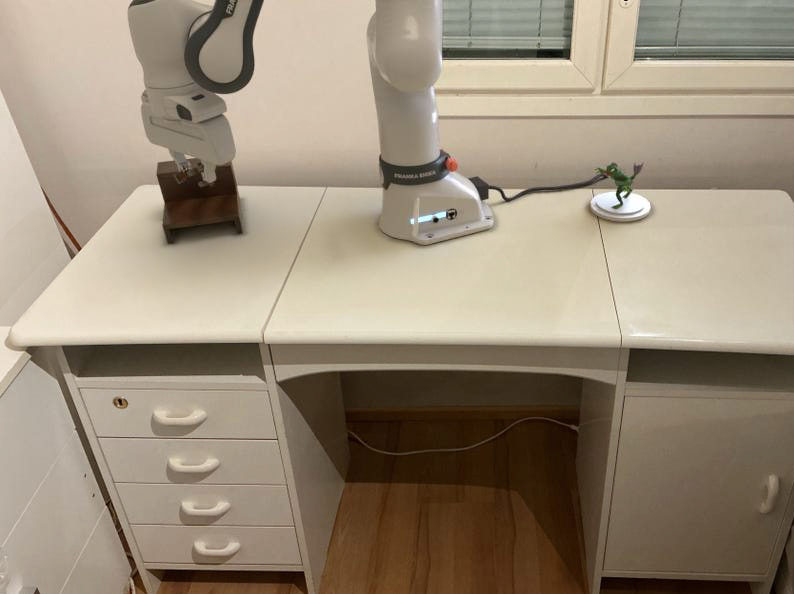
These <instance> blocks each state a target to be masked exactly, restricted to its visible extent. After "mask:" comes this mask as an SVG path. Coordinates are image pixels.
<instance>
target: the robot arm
mask: <svg viewBox="0 0 794 594" xmlns="http://www.w3.org/2000/svg"><path fill="white" fill-rule="evenodd" d="M264 3H265V0H214V4H213V5H209V4H205V3H202V2H199V1H195V0H132V1H131V2H130V3H129V6H128V7H127V22H128V29H129V33H130V39H131V41H132V46H133V50H134V53H135V56H136V59H137V60H138V62H139V64H140V65H141V68H142V72H143V83H144V88H145V89H144V90H143V92H142V93H141V95H140V99H141V103H142V104H141V105H140V113H141V115H140V116H141V119H142V125H143V129H144V133H145V137H146V138H147V139H148V141H149V143H151V144H153V145H155V146H159V147H162V148H165V149H167V150H168V153H169V155H170V156H171V157H172V160H173V161H175V162H176V163H177V166H178V169H179V172H181V173H184V174H185V173H186V172H187V171H189V170H191V169H192V167H191V163H190V162H189V161H187V159H188V158H187V157H186V156H189V157H191V158H198V159H201V162H202V164H203V165H204V171H202V172H201V174H202V177H203V180H204V181H206V182H209V183H211V182H213V181H215V180H216V174H215V168H216V165H223V164H225V163H228V162H230V161H232V162H233V161H234V159H235V157H236V154H237V152H236V151H237V150H236V144H235V141H234V136H233V131H232V127H231V124H230V122H229V120H228V118H227V116H225V113H226V112H227V111H228V107H227V104H226V100H225V99H223V98H222V97H221V96H219V95H231V94H234V93H237V92H240V91H241V90H243V89H244V88H245V87H246V86H247V85H249V83H250V82H251V80H252V78H253V76H254V72H255V53H254V52H255V51H254V35H255V31H256V27H257V23H258V20H259V17H260V14H261V12H262V8H263V5H264ZM443 7H444V5H443V0H375V12H373V14H372V15H371V17H370V19H369V21H368V24H367V28H366V44H367V45H366V46H367V54H368V61H369V69H370V76H371V84H372V90H373V97H374V104H375V105H374V106H375V110H376V117H377V118H376V119H377V128H378V129H377V130H378V139H379V150H380V151H379V152H380V154H379V156H378V171H379V179H380V184H381V187H382V202H381V212H380V218H379V222H378V226H379V229H380V230H381V232H383V233H384V234H385V235H387V236H389V237H391V238H394V239H398V240H404V241H411V242H412V243H415V244H418V245H421V246H427V245H432V244H436V243H439V242H440V243H441V242H445V241H448V240H452V239H457V238H459V237H464V236H468V235H471V234H475V233H479V232H483V231H488V230H490V229H492V227H493V226H494V223H495V222H494V221H495V219H494V215H493V211H492V210H491V208H490V206H489V205H488V204H487V203H486V202H485V201H486V200H489V199H490V198H489V197H490V191H489V190H495V191H497V192H499V193H500V196H501V198H502V200H504V201H505V202H512V201H514V200H517V199H519V198H521V197H522V196H524V195H526V194H529V193H532V192H542V191H545V192H546V191H559V190H567V189H573V188H579V187H582V186H586V185H589V184H592V183H594V182H595V181H596V180H598V179H599V178H601V177H602V178H605V179H609V178H610V176H607V175H606V173H605V174H602V175H601V173H600V172H599V173H597V174H596V175H595V176H594V177H592V178H590V179H589V180H584V181H582V182H577V183H571V184H564V185H556V186H555V185H554V186H538V187H530V188H527V189H523V190H522V191H520V192H519V193H517V194H516V195H514V196H512V197H508V196H506V193H505V192H504V190H503V189H502V188H501V187H499V186H495V185H490V184H489V183H487V182H486V181H484V180H483V179H482V178H481V177H479V175H477V176H473V177H466V176H464V175H462V174H460V173H459V172H457V169H458V168H459V164H458V162H456V159H455V158H453V157H452V156H451V155H450V153H448V152H446V151H445V150H444V149H443V147H441V145H440V144H441V143H440V141H441V140H440V124H439V123H440V122H439V121H440V120H439V109H438V104H437V98H436V93H435V92H436V91H435V86H434V85H435V84H436V83H437V81H438V79H439V78H440V76H441V73H442V69H443V30H444V29H443V27H444V25H443V23H444V17H443V16H444V14H443V11H444V9H443ZM599 175H600V176H599Z"/></svg>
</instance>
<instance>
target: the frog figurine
mask: <svg viewBox="0 0 794 594" xmlns="http://www.w3.org/2000/svg"><path fill="white" fill-rule="evenodd" d="M604 166H605V167H606V169H604V168H601V167H599V166H597V168H595V169H594V170H595V171H596V173H595V174H596V175H598V174H600V173H601V175H602V174H606V175H607V176H609V178H610V179H612V180H613V181H614V184H615V186H616V187H617V188H616V191H608V192H607V191H606V192H603V193H599V194H597V195H595V196H594V197H592V198H591V200H590V206H589V208H590V211H591V212H592V213H593V214H594V215H595V216H597V217H599V218H601V219H603V220H607V221H612V222H618V223H619V222H620V223H621V222H622V223H625V222H627V223H628V222H634V221H639V220H642V219H644V218H646V217H647V216H648V215H649V214H650V211H651V203H650V202H649V200H648V199H647V198H645V197H644V196H642V195H639V194H636V193H632V192H633V191H634V188H632V187H631V185H632V184H634V180H635V178H636V177H637V176H638V175H639V174H640V173H641V171H642V169H643V167H644V162H642V164H640V163H639V164H638V165H636V163H634V164H633V174H632V175H631V176H629V175H625V172H623V171H624V170H626V169H625V168H624V169H623V167H620V168H619V166H618V163H616V162H612V163H611V164H610V165H604ZM597 170H598V171H597ZM599 176H600V175H599Z"/></svg>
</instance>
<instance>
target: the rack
mask: <svg viewBox="0 0 794 594" xmlns="http://www.w3.org/2000/svg"><path fill="white" fill-rule="evenodd" d="M186 159H187V161H189V162H190V163H191V167H192V169H193V168H195V167H197V166H198V165H197V163H199V162H200V163H202V162H201V159H198V158H195V157H191V158H186ZM233 165H234V164H233V160H232V161H230V162H228V163H225V164H223V165H216V168H215V174H216V180H215V181H213V182H214V184H215V186H213V187H211V186H210V185H209V184H208V185H206V186H202V187H200V186H199V185H198V182H200V181H202V180H203V177H202V175H201V174H200V173H197V174H195V175H192V176H190V177H189V176H188V177H187V178H186V179H187V180H185V181H184V182H182V183H180V184H178V182H177V181H176V179H175V177H174V176H173V175H174V174H176V173H178V172H179V169H178V166H177V163H176V162H175V161H174V160H166V161H158V162H157V166H156V173H155V175H156V178H157V181H158V185H159V189H160V193H161V196H162V199H163V203H164V204H163V213H162V225H161V226H162V229H163V233H164V236H165V239H166V243H167V244H170V245H171V244H174V235H175V229H178V228H179V229H181V228H187V227H188V228H189V227H195V226H203V225H209V224H216V223H225V222H231V221H232V222H233V221H234V223H235V230H236V232H237V233H236V234H237V235H242V234H244V230H243V218H242V206H241V197H240V193H239V188H238V184H237V179H236V174H235V169H234V166H233ZM201 172H202V171H201Z"/></svg>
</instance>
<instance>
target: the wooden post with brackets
mask: <svg viewBox="0 0 794 594" xmlns="http://www.w3.org/2000/svg"><path fill="white" fill-rule="evenodd" d="M197 165H198V166H197V167H195V168H193V169H191V170H189V171H187V172H186V173H185V174H184V173H181V172H178V173H176V174H174V175H173V176H174V177H175V179H176V181H177V182H178V184H180V183H182V182H184V181H185V180H187V179H186V178H187V177H188V176H189V177H190V176H192V175H195V174H197V173H200V174H201V171H204V165H203V164H202V163H200V162H199V163H197ZM201 175H202V174H201ZM208 184H209V185H210V186H211V187H213V186H215V184H214V182H211V183H209V182H206V181H204V180H202V181H200V182H198V185H199V186H200V187H202V186H206V185H208Z"/></svg>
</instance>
